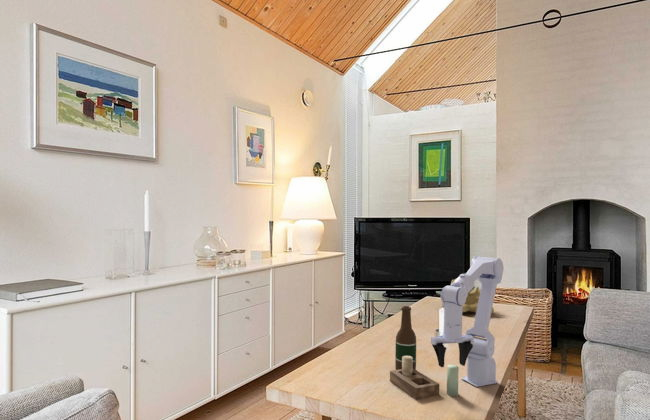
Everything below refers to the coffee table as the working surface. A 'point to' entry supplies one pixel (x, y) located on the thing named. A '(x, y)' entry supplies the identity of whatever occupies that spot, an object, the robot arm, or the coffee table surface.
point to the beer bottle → (405, 339)
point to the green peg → (452, 380)
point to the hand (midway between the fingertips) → (451, 365)
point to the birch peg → (407, 365)
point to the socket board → (415, 384)
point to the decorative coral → (471, 300)
